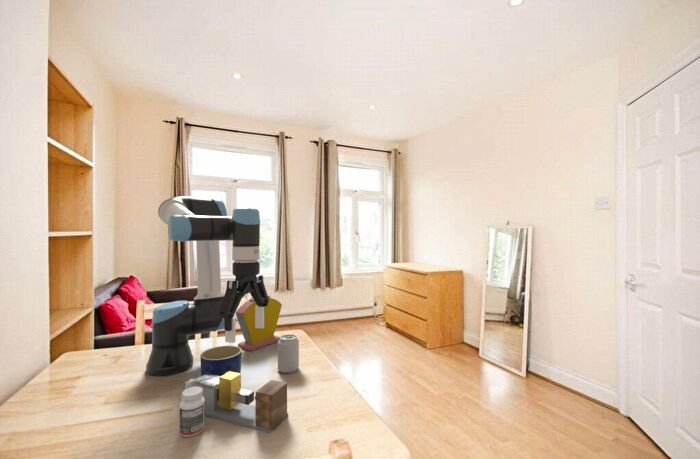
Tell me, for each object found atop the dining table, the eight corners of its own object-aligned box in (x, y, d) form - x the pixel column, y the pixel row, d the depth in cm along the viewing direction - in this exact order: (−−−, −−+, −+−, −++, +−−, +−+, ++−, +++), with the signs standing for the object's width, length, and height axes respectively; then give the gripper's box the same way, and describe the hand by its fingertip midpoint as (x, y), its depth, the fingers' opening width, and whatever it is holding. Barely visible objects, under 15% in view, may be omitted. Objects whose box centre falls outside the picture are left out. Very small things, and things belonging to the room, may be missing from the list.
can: (301, 365, 118) (301, 333, 118) (295, 374, 110) (295, 340, 110) (281, 365, 118) (281, 332, 118) (274, 373, 111) (274, 339, 111)
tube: (182, 398, 91) (183, 370, 91) (194, 391, 94) (194, 364, 94) (246, 413, 83) (246, 382, 83) (255, 405, 87) (255, 376, 87)
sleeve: (191, 409, 89) (191, 381, 89) (206, 399, 94) (206, 373, 94) (214, 414, 86) (214, 386, 86) (228, 404, 91) (228, 377, 91)
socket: (254, 427, 80) (254, 391, 80) (270, 412, 87) (270, 379, 87) (272, 431, 79) (272, 395, 79) (287, 416, 85) (287, 382, 85)
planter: (249, 381, 105) (249, 348, 105) (220, 399, 94) (220, 362, 94) (222, 374, 110) (222, 343, 111) (191, 390, 99) (191, 355, 99)
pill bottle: (185, 424, 82) (185, 385, 82) (208, 423, 82) (208, 384, 82) (175, 438, 76) (175, 397, 76) (199, 437, 76) (199, 396, 76)
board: (187, 411, 87) (187, 409, 87) (209, 397, 95) (209, 395, 95) (271, 432, 78) (271, 430, 78) (288, 415, 86) (288, 413, 86)
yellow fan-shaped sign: (272, 335, 153) (272, 290, 153) (285, 339, 147) (285, 292, 148) (231, 349, 135) (232, 298, 135) (245, 353, 129) (245, 301, 130)
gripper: (227, 265, 79) (227, 351, 79) (279, 258, 103) (279, 323, 102) (203, 264, 81) (203, 347, 81) (259, 257, 105) (259, 321, 105)
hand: (246, 334), depth 92 cm, fingers open, 13 cm apart
